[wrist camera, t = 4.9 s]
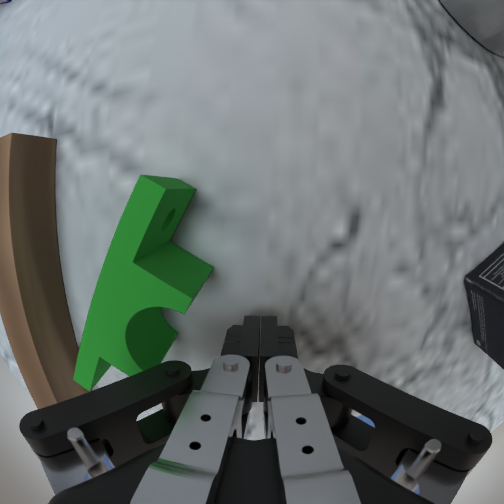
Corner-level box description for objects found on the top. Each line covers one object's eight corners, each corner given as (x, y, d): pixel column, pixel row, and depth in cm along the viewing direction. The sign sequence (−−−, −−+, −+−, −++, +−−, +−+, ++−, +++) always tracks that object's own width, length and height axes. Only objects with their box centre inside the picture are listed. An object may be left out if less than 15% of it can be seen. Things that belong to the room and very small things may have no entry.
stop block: (56, 139, 13) (11, 132, 9) (99, 410, 17) (77, 442, 13) (28, 147, 13) (-15, 144, 9) (72, 401, 17) (49, 429, 13)
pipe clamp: (158, 371, 16) (131, 419, 12) (109, 340, 16) (72, 380, 11) (244, 213, 14) (232, 226, 9) (178, 177, 13) (138, 174, 9)
